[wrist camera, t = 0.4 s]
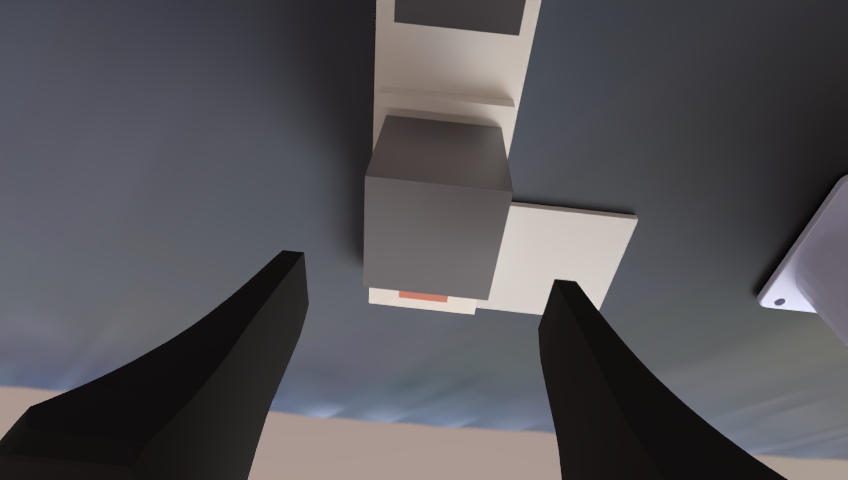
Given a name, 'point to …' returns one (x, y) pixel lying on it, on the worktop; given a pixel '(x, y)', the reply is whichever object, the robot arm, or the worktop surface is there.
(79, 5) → the worktop surface
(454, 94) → the power strip
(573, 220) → the mat
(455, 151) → the block
